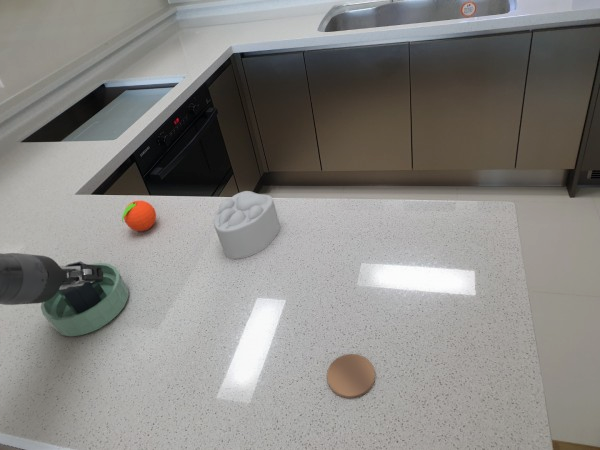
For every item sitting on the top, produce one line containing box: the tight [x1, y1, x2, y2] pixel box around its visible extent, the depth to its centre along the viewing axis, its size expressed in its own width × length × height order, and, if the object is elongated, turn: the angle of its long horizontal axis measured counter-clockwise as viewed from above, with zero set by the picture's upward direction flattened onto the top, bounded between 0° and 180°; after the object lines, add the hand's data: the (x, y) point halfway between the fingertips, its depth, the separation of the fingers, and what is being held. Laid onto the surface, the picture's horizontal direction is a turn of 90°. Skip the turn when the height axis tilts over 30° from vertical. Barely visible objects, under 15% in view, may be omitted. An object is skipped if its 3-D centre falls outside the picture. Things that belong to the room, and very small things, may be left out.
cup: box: [58, 260, 107, 315], centre depth 84 cm, size 6×6×8 cm
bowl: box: [40, 262, 129, 337], centre depth 86 cm, size 14×14×5 cm
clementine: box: [121, 200, 157, 232], centre depth 103 cm, size 8×7×7 cm
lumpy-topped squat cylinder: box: [213, 190, 281, 260], centre depth 93 cm, size 10×13×9 cm
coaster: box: [326, 353, 376, 399], centre depth 65 cm, size 7×7×1 cm
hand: (80, 280), depth 85 cm, fingers open, 7 cm apart
